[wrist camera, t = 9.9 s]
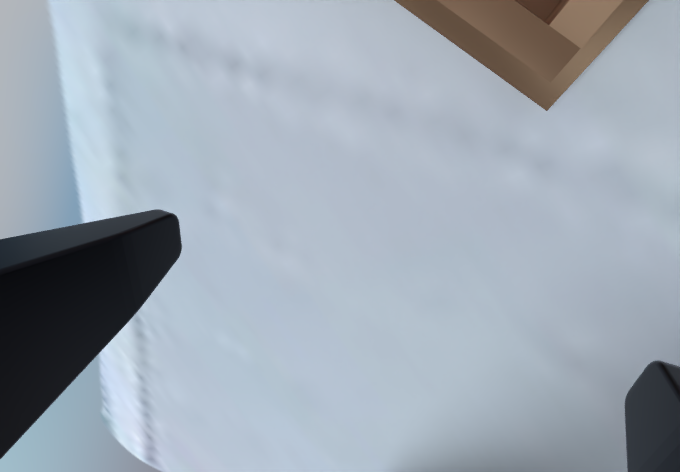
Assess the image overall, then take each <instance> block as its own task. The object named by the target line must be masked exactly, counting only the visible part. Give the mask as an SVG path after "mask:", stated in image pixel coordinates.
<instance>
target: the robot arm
mask: <svg viewBox="0 0 680 472" xmlns="http://www.w3.org/2000/svg"><path fill="white" fill-rule="evenodd" d="M181 249H182V244H181V236H180V227H179V220H178V218H177V216H176V215H175V214H173V213H169V212H166V211H163V210H151V211H146V212H141V213H135V214H130V215H125V216H120V217H114V218H109V219H104V220H99V221H94V222H88V223H83V224H78V225H73V226H68V227H63V228H58V229H52V230H47V231H42V232H37V233H31V234H26V235H21V236H16V237H10V238H5V239H0V459H1V458H2V457H3V456H4V455H5V454H6V453H7V451H8V450H9V449H10V448H11V447H12V446H13V445H14V444H15V443H16V442H17V441H18V440H19V438H21V437H22V435H23V434H24V433H25V432H26V431H27V430H28V429H29V428H30V427H31V426H32V425H33V424H34V423H35V421H36V420H37V419H38V418H39V417H40V416H41V415H42V414H43V413H44V412H45V411H46V409H48V407H49V406H50V405H51V404H52V403H53V402H54V401H55V400H56V399H57V398H58V397H59V396H60V395H61V394H62V392H63V391H64V390H65V389H66V388H67V387H68V386H69V385H70V384H71V383H72V382H73V381H74V380H75V379H76V377H77V376H78V375H79V374H80V373H81V372H82V371H83V370H84V369H85V368H86V367H87V366H88V364H89V363H90V362H91V361H92V360H93V359H94V358H95V357H96V356H97V355H98V354H99V353H100V352H101V351H102V349H103V348H104V347H105V346H106V345H107V344H108V343H109V342H110V341H111V340H112V339H113V338H114V337H115V336H116V334H117V333H118V332H119V331H120V330H121V329H122V328H123V327H124V326H125V325H126V324H127V323H128V322H129V320H130V319H131V318H132V317H133V316H134V315H135V314H136V313H137V311H138V310H139V309H140V308H141V306H142V305H143V304H144V303H145V301H146V300H147V299H148V297H149V296H150V295H151V293H152V292H153V291H154V290H155V288H156V287H157V286H158V284H159V283H160V282H161V280H162V279H163V278H164V276H165V275H166V274H167V272H168V271H169V270H170V268H171V267H172V266H173V265H174V263H175V262H176V261H177V259H178V258H179V256H180V253H181ZM625 424H626V446H627V468H628V472H680V367H679V366H675V365H672V364H669V363H665V362H662V361H653V362H651V363H650V364H649V365H648V366H647V367H646V368H645V370H644V371H643V373H642V374H641V375H640V377H639V378H638V379H637V381H636V382H635V383H634V385H633V386H632V387H631V389H630V390H629V392H628V394H627V396H626V399H625Z"/></svg>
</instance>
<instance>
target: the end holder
mask: <svg viewBox="0 0 680 472" xmlns="http://www.w3.org/2000/svg"><path fill="white" fill-rule="evenodd" d="M395 1H396V2H397V3H399V4H400V5H401V6H403V7H404V8H406V9H407V10H408V11H410V12H411V13H412V14H414V15H415V16H417V17H418V18H419V19H421V20H422V21H424V22H425V23H426V24H428V25H429V26H430V27H432V28H433V29H435V30H436V31H437V32H439V33H440V34H441V35H443V36H444V37H446V38H447V39H448V40H450V41H451V42H452V43H454V44H455V45H457V46H458V47H459V48H461V49H462V50H464V51H465V52H466V53H468V54H469V55H470V56H472V57H473V58H475V59H476V60H477V61H479V62H480V63H481V64H483V65H484V66H486V67H487V68H488V69H490V70H491V71H492V72H494V73H495V74H497V75H498V76H499V77H501V78H502V79H504V80H505V81H506V82H508V83H509V84H510V85H512V86H513V87H515V88H516V89H517V90H519V91H520V92H521V93H523V94H524V95H526V96H527V97H528V98H530V99H531V100H532V101H534V102H535V103H537V104H538V105H539V106H541V107H542V108H544V109H545V110H546V111H547V110H548V109H549V108H550V107H551V106H552V105H553V104H554V103H555V102H556V100H557V99H558V98H559V97H560V96H561V95H562V94H563V93H564V92H565V91H566V90H567V89H568V87H569V86H570V85H571V84H572V83H573V82H574V81H575V80H576V79H577V78H578V77H579V75H580V74H581V73H582V72H583V71H584V70H585V69H586V68H587V67H588V66H589V65H590V64H591V62H592V61H593V60H594V59H595V58H596V57H597V56H598V55H599V54H600V53H601V52H602V50H603V49H604V48H605V47H606V46H607V45H608V44H609V43H610V42H611V41H612V40H613V39H614V37H615V36H616V35H617V34H618V33H619V32H620V31H621V30H622V29H623V28H624V27H625V25H626V24H627V23H628V22H629V21H630V20H631V19H632V18H633V17H634V16H635V15H636V14H637V12H638V11H639V10H640V9H641V8H642V7H643V6H644V5H645V4H646V3H647V2H648V1H649V0H395Z"/></svg>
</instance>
